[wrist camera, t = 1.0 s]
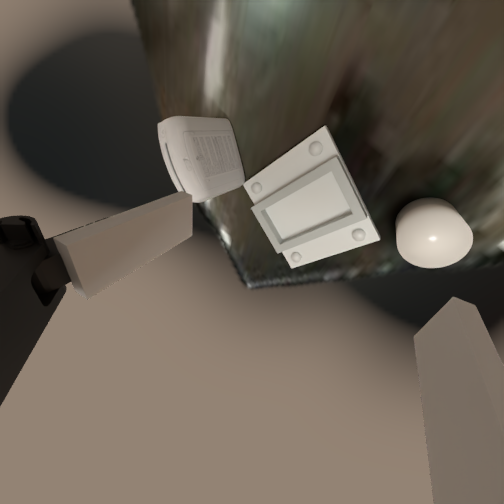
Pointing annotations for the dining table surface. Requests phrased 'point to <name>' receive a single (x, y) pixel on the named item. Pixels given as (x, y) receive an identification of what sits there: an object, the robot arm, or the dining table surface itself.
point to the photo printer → (201, 155)
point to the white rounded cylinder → (432, 233)
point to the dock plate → (311, 203)
